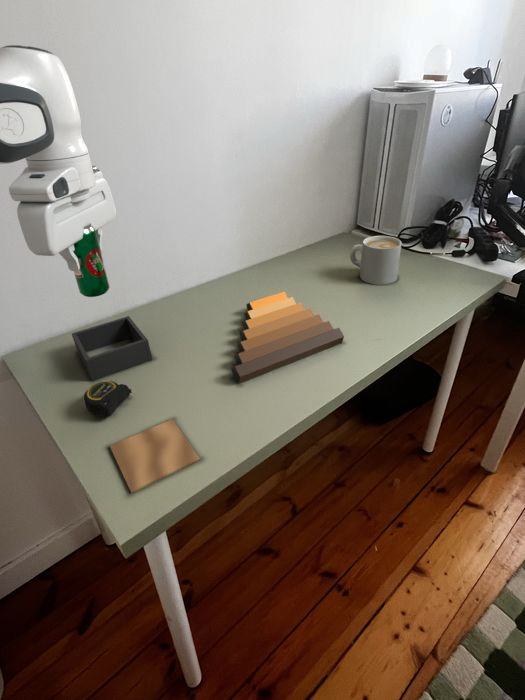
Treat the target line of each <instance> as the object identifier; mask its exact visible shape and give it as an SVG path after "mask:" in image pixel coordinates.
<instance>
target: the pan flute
mask: <svg viewBox="0 0 525 700" xmlns="http://www.w3.org/2000/svg"><path fill="white" fill-rule="evenodd" d="M245 306H246V310H247V311H245V312H244V313H243V314H244V318H245V320H244V321H242V322H241V324H242V329H243V330H242V331H240V332H239V336H240V340H241V341H239V342H237V343H236V345H237V348H238V352H239V353H235V354H234V359H235V363H236V365H234V366H232V367H231V371H232V377H233V379H234V380H235V381H236V382H237V383H238V384H242V383H245V382H247V381H250V380H253V379H255V378H258V377H260V376H263V375H265V374H268V373H270V372H273V371H275V370H278V369H281V368H283V367H285V366H288V365H290V364H293V363H296V362H298V361H301V360H303V359H307V358H308V357H311V356H313V355H316V354H318V353H321V352H323V351H326V350H328V349H331V348H334V347H336V346H339V345H341V344H342V343H343V341H344V338H345V335H344V333H343V332H342V330H341V328H340V327H337V328H334V327H333V326H332V324H331V322H330V320H327V321H323V319H322V317H321V315H320V314H316V315H314V313H313V311H312V310H311V308H310V307H308V308H305V307H304V306H303V303H302V302H301V301H300V302H298V303H296V300H295V299H294V297H293V296H291V297H288V295H287V294H286V292H285V291H282V292H278V293H275V294H272V295H269V296H265V297H263V298H259V299H255V300H253V301H250V302H248V303H246V304H245Z"/></svg>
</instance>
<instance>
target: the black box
mask: <svg viewBox="0 0 525 700" xmlns="http://www.w3.org/2000/svg"><path fill="white" fill-rule="evenodd" d="M71 337H72V340H73V342H74V346H75V348H76V351H77V353H78V356H79V357H80V360H81V361H82V363H83V365H84V367H85V369H86V371H87V373H88V375H89V377H90V379H91V381H92V382H94V381H96V380H100V379H103V378H105V377H108V376H111V375H114V374H117V373H119V372H121V371H124V370H127V369H130V368H133V367H136V366H138V365H141V364H144V363H147V362H149V361H152V360H153V356H152V351H151V348H150V343H149V339H148V338H147V336H145V334H144V333H143V332H142V331H141V330H140V328H139V327H138V325H137V324H136V323H135V322H134V320H133V319H132V318H131V316H130V315H126V316H124V317H121V318H117V319H114V320H111V321H108V322H104V323H101V324H98V325H94V326H91V327H89V328H84V329H82V330H77V331H75V332H72V333H71ZM129 338H131V339H132V340H133V341H134V342H131V343H128V344H125V345H122V346H118V347H115V348H112V349H109V350H106V351H104V352H101V353H97V354H94V355H92V356H88V354H87V352H90V351H93V350H96V349H99V348H103V347H105V346H108V345H111V344H114V343H118V342H121V341H124V340H127V339H129Z"/></svg>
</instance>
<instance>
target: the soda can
mask: <svg viewBox="0 0 525 700" xmlns="http://www.w3.org/2000/svg"><path fill="white" fill-rule="evenodd" d="M83 228H84V233H83V238H82V239H81V240H79V241H78V242H76V243H74V244H73V245H74V248H75V250H74V251H73V252H74V254H75V255H76V257H78V258H81V259H82V264H83V267H82V268H81V269H80V270H78V271H73V274H74V278H75V281H76V284H77V288H78V291H79V293H80V294H81V295H82V296H84V297H86V298H95V297H100V296H103V295H105V294H106V293H108V291H109V289H110V282H109V279H108V274H107V271H106V267H105V262H104V260H103V259H104V258H103V255H102V254H101V251H100V247H99V243H98V239H97V235H96V231H95V228H94V227H93V226H91V223H90V224H89V225H87V226H85V227H83Z"/></svg>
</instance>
